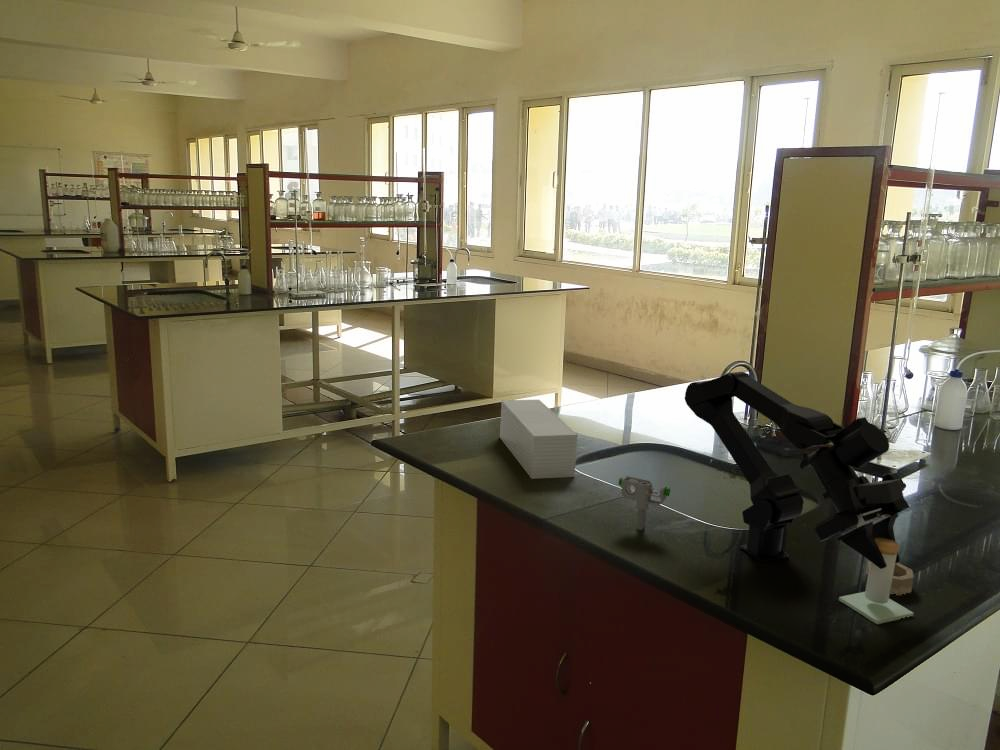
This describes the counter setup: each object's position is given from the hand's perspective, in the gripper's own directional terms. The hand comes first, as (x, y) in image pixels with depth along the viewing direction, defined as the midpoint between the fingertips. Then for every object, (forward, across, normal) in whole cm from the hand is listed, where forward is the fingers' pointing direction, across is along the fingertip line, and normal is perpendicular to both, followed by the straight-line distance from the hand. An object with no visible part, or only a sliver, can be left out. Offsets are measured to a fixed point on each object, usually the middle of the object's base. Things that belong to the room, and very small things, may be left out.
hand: (890, 565), depth 127 cm
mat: (+5, 0, +7) cm, 8 cm away
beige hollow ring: (+2, +10, +10) cm, 14 cm away
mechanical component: (-25, -13, +37) cm, 47 cm away
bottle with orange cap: (+4, 0, +6) cm, 7 cm away
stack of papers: (-58, -6, +71) cm, 91 cm away
